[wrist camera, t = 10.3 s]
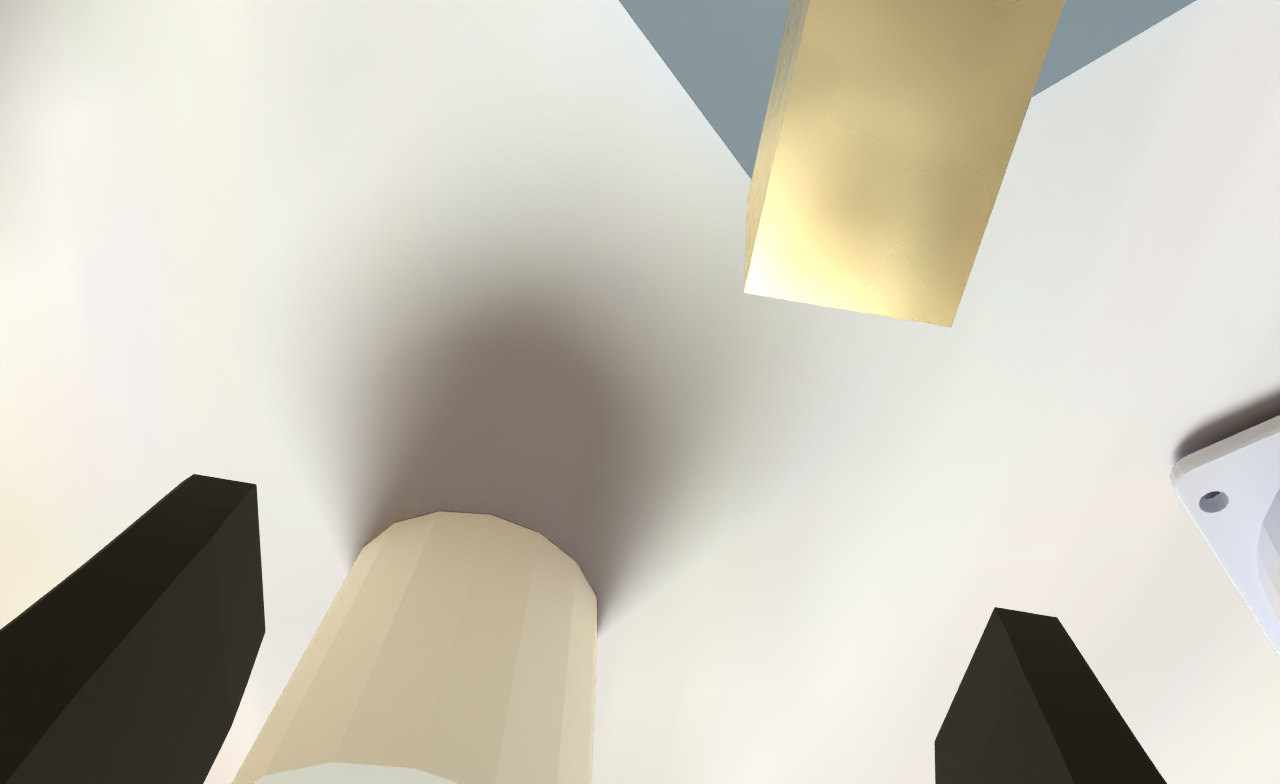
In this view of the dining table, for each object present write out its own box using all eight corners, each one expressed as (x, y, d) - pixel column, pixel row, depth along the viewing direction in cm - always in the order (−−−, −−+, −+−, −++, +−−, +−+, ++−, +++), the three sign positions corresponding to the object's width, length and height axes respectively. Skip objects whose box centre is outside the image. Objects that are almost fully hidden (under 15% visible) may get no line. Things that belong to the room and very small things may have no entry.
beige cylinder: (656, 527, 25) (622, 818, 19) (596, 733, 29) (554, 1023, 23) (330, 457, 25) (199, 731, 19) (315, 675, 29) (203, 955, 23)
